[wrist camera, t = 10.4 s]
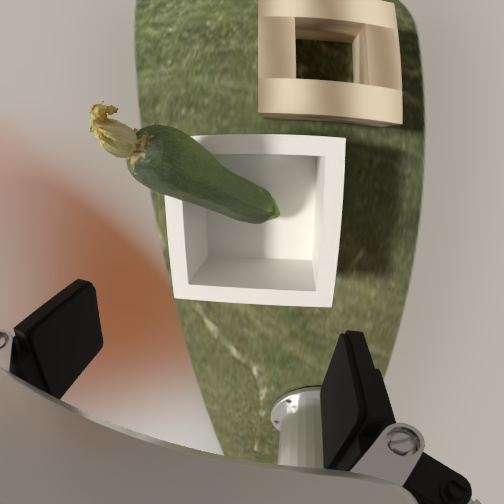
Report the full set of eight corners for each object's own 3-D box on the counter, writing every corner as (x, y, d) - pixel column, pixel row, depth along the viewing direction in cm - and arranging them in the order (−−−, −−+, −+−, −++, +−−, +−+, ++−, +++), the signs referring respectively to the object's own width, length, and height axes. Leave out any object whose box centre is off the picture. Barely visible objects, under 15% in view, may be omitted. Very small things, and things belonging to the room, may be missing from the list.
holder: (377, 24, 22) (394, 3, 17) (381, 127, 26) (402, 124, 21) (263, 15, 23) (258, -10, 18) (264, 119, 28) (258, 112, 22)
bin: (330, 139, 28) (345, 138, 20) (322, 270, 33) (331, 307, 25) (192, 138, 29) (162, 138, 22) (198, 264, 34) (174, 297, 27)
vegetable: (251, 235, 30) (57, 173, 14) (246, 196, 31) (70, 115, 15) (290, 223, 28) (93, 133, 11) (283, 182, 29) (108, 73, 12)
